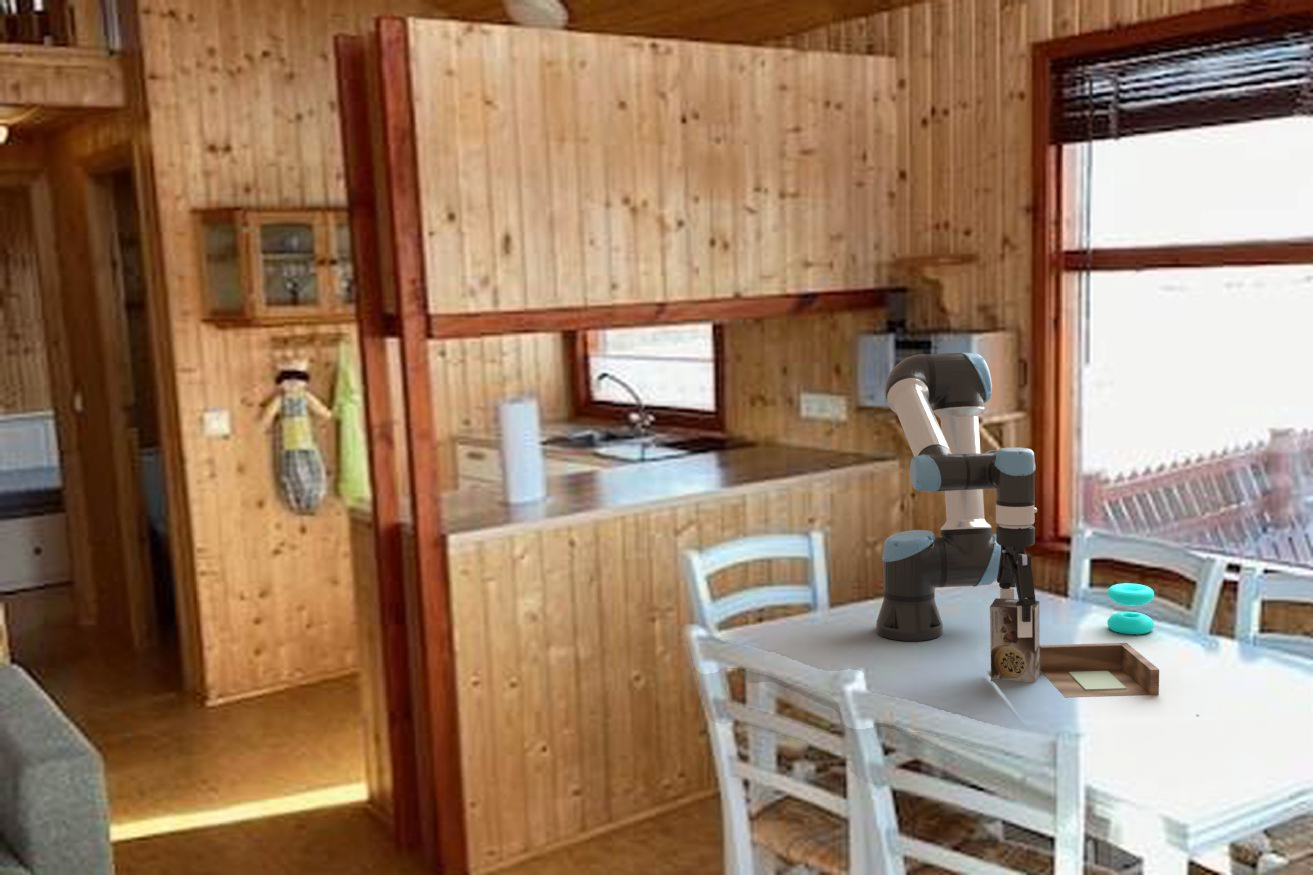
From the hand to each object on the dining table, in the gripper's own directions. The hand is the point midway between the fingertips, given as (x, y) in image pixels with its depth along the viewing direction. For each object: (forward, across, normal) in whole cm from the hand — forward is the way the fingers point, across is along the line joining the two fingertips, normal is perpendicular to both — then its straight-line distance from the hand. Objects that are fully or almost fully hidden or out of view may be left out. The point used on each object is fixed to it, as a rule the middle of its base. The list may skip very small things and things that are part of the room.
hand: (1015, 628), depth 263 cm
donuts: (+11, +34, -35) cm, 50 cm away
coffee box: (+11, +1, 0) cm, 11 cm away
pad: (+10, -4, -15) cm, 19 cm away
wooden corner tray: (+11, -4, -15) cm, 19 cm away
